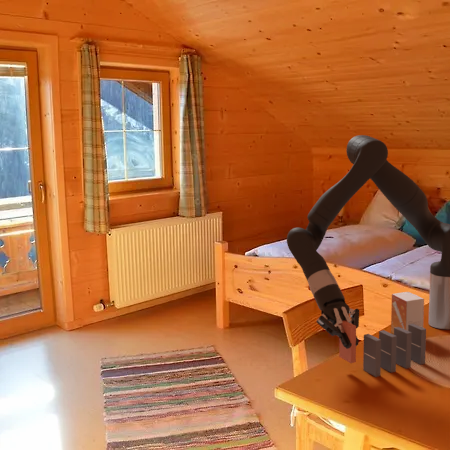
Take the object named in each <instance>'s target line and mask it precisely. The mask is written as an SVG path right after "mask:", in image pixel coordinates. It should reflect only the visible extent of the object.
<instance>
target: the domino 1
mask: <svg viewBox="0 0 450 450" xmlns="http://www.w3.org/2000/svg"><path fill="white" fill-rule="evenodd" d="M342 323H343V324H342V325H343V328H344V330H345V333H346V334H347V336H348V338H349V340H350V342H351V344H352V346H351V347H350V348H348V349H346V347H344V346H343V344H342V342H341V340H340V338H339V337H338V338H339V345H338V347H339V348H338V350H339V351H338V353H339V355H338V357H339V358H341V359H343V360H345V361H346V362H348V363H349V364H354V363H356V362H357V346H356V336H357V329H356V326H355V325H353V324H351V323H349V322H347V321H345V320H344V321H342Z"/></svg>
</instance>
